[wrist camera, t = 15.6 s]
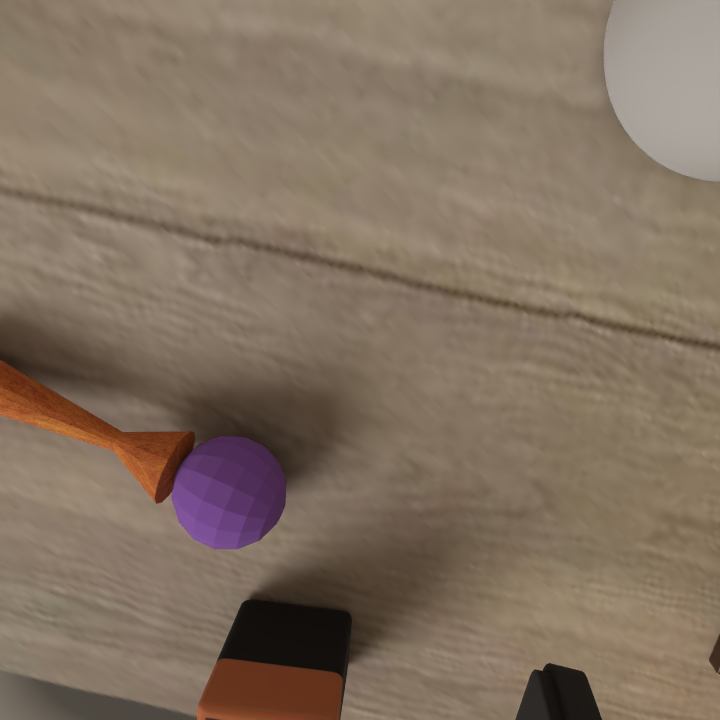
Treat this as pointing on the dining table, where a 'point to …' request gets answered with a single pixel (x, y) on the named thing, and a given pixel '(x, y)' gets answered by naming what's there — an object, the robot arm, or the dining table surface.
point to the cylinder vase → (667, 80)
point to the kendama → (170, 465)
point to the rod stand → (716, 656)
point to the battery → (280, 665)
